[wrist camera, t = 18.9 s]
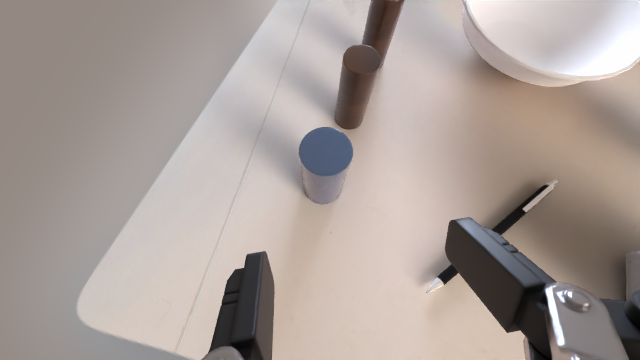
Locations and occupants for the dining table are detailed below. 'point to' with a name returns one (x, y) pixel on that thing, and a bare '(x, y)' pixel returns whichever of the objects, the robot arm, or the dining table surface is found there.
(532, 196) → the pen
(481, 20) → the bowl
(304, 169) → the cylinder
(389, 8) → the pegs
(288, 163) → the dining table surface
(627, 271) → the incense holder
